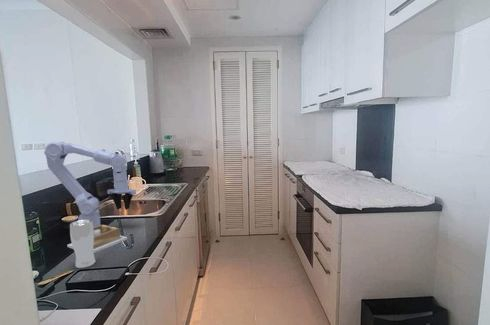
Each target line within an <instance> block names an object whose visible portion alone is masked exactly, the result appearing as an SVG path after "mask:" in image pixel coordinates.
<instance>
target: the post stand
mask: <svg viewBox="0 0 490 325" xmlns="http://www.w3.org/2000/svg"><path fill="white" fill-rule="evenodd" d="M100 234H101V232H100V229H97V230H94V236H97V235H100ZM127 240H128V236H125V235H121V234H120V238H118V239H116V240H113V241H110V242H108V243H105V244H103V245H100V246H98V247H95V248H93V253H94V254H96V253H98V252H100V251H102V250H105V249H107V248H110V247H112V246H115V245H117V244H119V243H122V242H125V241H127ZM66 246H67V248H69V249H72V250H74V248H73V246H72V242H71V243H69V244H67V245H66Z"/></svg>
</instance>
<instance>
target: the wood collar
mask: <svg viewBox="0 0 490 325" xmlns="http://www.w3.org/2000/svg"><path fill="white" fill-rule="evenodd" d="M93 229H94V230H97V229H100V232H101V234H100V235H97V236H94V246H93V248H95V247H98V246H100V245H103V244H105V243H108V242H110V241H113V240H116V239H118V238H120V235H121V233H120V232H121V231H120V228H119V227H115V226H109V225H106V224H101V225H100V226H97V227H94V228H93Z"/></svg>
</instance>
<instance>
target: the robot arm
mask: <svg viewBox="0 0 490 325" xmlns="http://www.w3.org/2000/svg"><path fill="white" fill-rule="evenodd" d="M69 154H77V155H80V156H81V155H82V156H84V157H85V156H86V157H88V158H92V159H93V161H95V162H96V163H101V164H104V165H107V166H111V167H112V176H113V184H114V188H111V189H110V188H109V189H107V190H106V191H107V195H110V194H111V195H110V196H109V197H110V198H111V200H112V201H113V202H114V205H115V207H116V209H117V210H119V209H120V210H121V209H122V200H123V206H124V209H125V210H129V209H130V207H131V202H132V199H133V197H134V195H137V189H134V188H133V189H131V188H128V186H129V185H128V174H127V173H128V172H127V166H126V164H127V159H126V157H125V156H124V155H122V154H117V153H116V152H113V153H112V152H109V151H106V149H104V148H102V149H97V150H92V149H90V148H87V147H83V146H81V145H78V144H75V143H69V142H64V141H59V142H57V141H56V142H55V141H54V142H48V144H47V145H46V146H45V149H44V155H45V159H46V164H47V167H48V170H50V171H51V172H52V174H54V176H55V177H56V178H57V179H58V181H60V183H61V184H62V185H63V186H64V187H65V189H66V190H68V192H69V193H70V194H71V195H72V197H73V198H74V199H75V204H76V206H77V207H78V210H79V212H80V214H79V215H78V218H77V221H79V220H85V219H90V220H92V224H93V228H94V227H97V226H100V225H102V224H101V216H100V210H99V207H100V203H101V202H100V200H99V199H98V198H97V197H95V196H93V194H92V193H90V192H88V191H86V189H85V188H84V187H83V186H82V184H80V182H79V181H78V180H77V179H76V177H75V176H74V175H73V174H72V173H71V172H70V171H69V169H68V168H67V167H66V165H64V163H65V159H66V157H67V156H68V155H69Z"/></svg>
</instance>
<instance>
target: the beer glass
mask: <svg viewBox="0 0 490 325" xmlns="http://www.w3.org/2000/svg"><path fill="white" fill-rule="evenodd" d="M69 236H70V242H71V243H72V246H73V248H74V249H73V251H74V253H75V268H76V269H86V268H88V267H89V268H90V267H91V266H93V265H94V264H96V258H95V253H93V246H94V229H93V224H92V220H90V219H85V220H79V221H78V220H75V221H72V222H71V223H69Z"/></svg>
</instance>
